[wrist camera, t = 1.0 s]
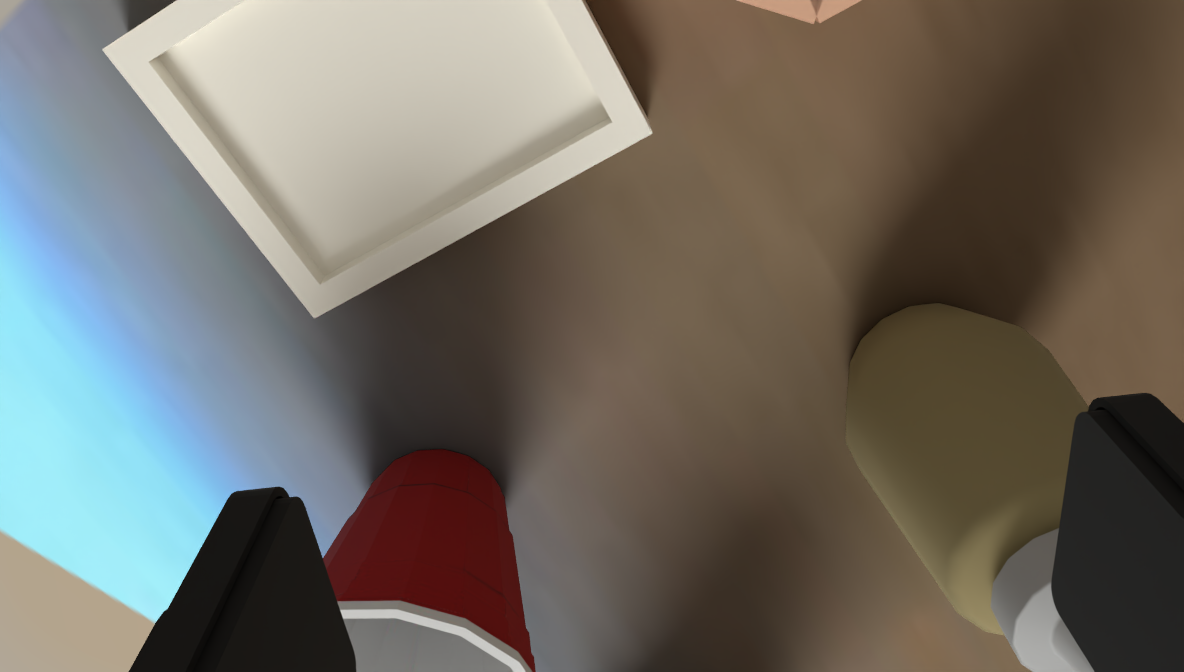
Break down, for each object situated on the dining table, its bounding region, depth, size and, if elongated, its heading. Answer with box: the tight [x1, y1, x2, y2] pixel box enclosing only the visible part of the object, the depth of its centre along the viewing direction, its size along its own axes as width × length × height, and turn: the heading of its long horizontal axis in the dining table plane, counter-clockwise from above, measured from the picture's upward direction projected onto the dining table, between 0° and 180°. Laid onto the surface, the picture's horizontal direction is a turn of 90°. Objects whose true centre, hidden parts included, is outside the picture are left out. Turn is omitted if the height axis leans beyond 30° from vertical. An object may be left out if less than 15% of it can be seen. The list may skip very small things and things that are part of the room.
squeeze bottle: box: [846, 303, 1094, 672], centre depth 30 cm, size 8×8×18 cm
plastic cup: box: [323, 449, 536, 672], centre depth 35 cm, size 11×11×12 cm
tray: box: [102, 0, 652, 319], centre depth 31 cm, size 14×11×2 cm
